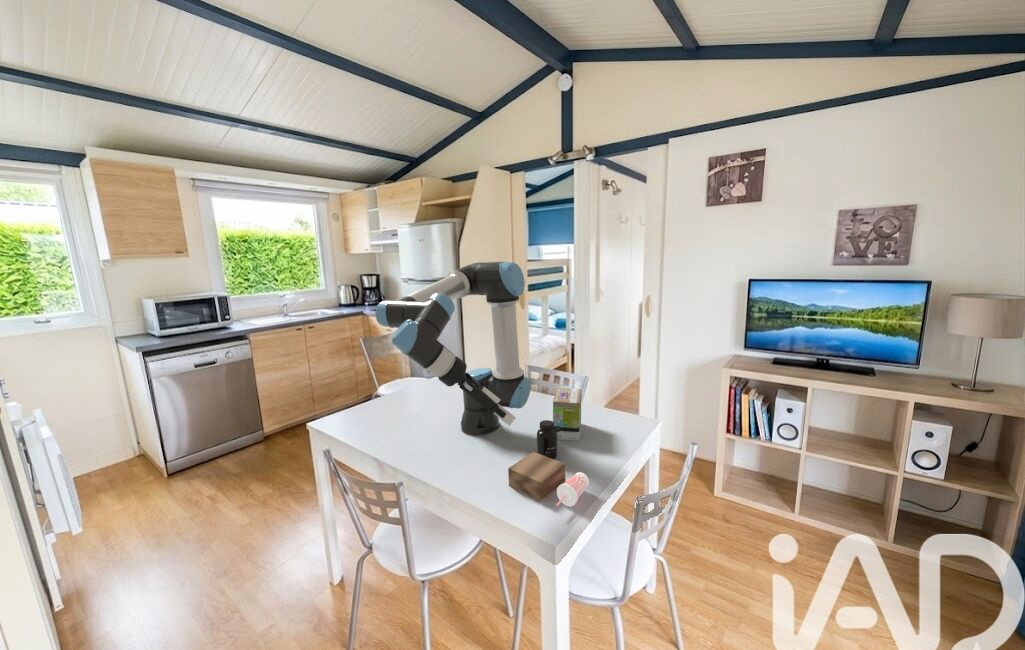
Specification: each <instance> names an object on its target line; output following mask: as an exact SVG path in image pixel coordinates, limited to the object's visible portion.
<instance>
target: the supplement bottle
mask: <svg viewBox="0 0 1025 650" xmlns="http://www.w3.org/2000/svg"><path fill="white" fill-rule="evenodd" d="M536 453H538V454H541V455H543V456H546V457H548V458H551V459H554V460H556V458H557V457H558V439H557V432H556V430H555V429H554V422H553V420H550V419H549V420H548V419H546V420H541V421H540V422H539V429H538V430H537V432H536Z"/></svg>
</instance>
